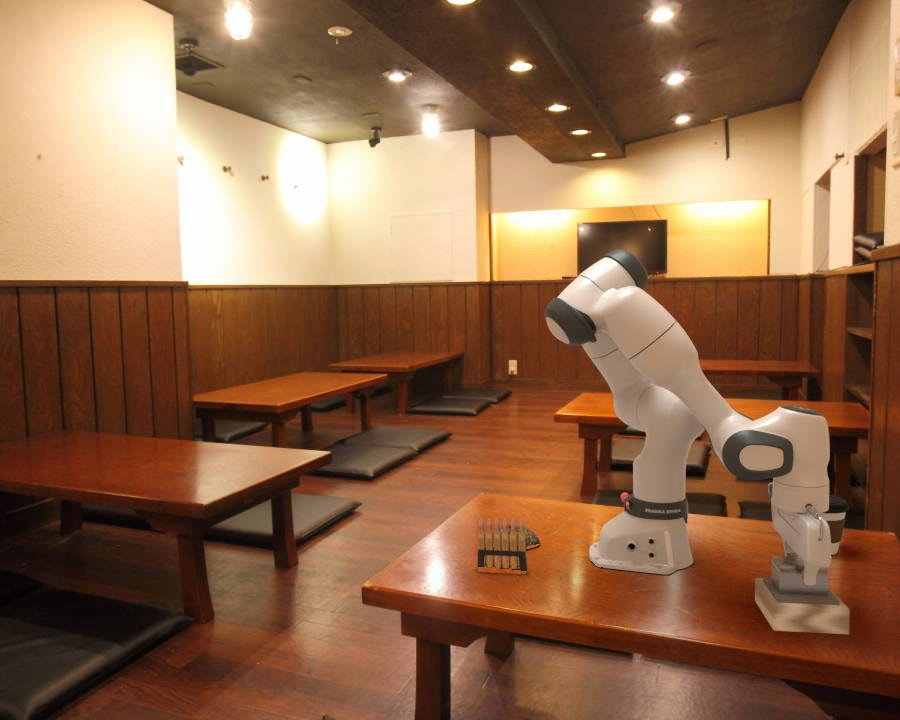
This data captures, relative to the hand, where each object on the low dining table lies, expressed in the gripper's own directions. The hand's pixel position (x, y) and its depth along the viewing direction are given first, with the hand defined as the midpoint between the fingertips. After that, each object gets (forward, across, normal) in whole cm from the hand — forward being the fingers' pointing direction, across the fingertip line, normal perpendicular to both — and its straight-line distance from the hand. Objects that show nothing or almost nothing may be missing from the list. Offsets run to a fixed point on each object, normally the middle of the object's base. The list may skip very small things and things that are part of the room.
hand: (799, 572), depth 121 cm
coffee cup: (+8, +34, -15) cm, 38 cm away
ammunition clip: (+8, +15, +55) cm, 58 cm away
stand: (+8, 0, 0) cm, 8 cm away
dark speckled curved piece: (+9, +33, +55) cm, 64 cm away
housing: (+3, 0, 0) cm, 3 cm away
